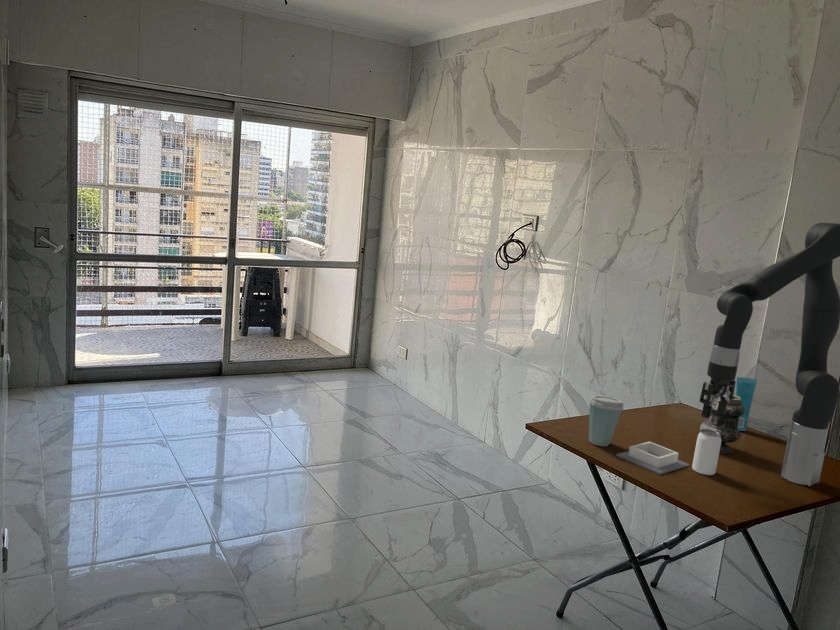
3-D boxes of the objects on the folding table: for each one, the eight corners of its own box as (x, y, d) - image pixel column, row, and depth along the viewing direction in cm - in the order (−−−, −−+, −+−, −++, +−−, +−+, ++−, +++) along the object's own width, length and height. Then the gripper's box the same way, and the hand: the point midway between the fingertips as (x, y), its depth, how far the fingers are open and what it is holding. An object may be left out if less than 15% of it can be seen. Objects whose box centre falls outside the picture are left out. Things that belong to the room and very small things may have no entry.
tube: (742, 427, 247) (752, 376, 244) (751, 432, 242) (761, 380, 239) (724, 426, 246) (733, 375, 242) (732, 431, 241) (742, 379, 238)
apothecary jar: (738, 447, 225) (748, 395, 221) (735, 458, 214) (746, 403, 211) (699, 438, 230) (708, 387, 227) (695, 448, 220) (704, 395, 216)
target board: (688, 465, 204) (690, 454, 203) (659, 474, 194) (662, 463, 194) (645, 448, 215) (647, 437, 214) (616, 456, 206) (618, 444, 205)
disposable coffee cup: (579, 435, 221) (586, 391, 219) (612, 438, 221) (620, 394, 218) (586, 447, 211) (593, 401, 208) (621, 451, 211) (628, 404, 208)
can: (690, 471, 199) (697, 432, 197) (693, 465, 205) (699, 427, 203) (714, 477, 196) (721, 438, 194) (716, 470, 202) (723, 432, 200)
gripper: (723, 367, 187) (712, 423, 190) (748, 363, 196) (738, 416, 199) (698, 360, 193) (688, 414, 196) (724, 356, 202) (714, 408, 205)
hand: (713, 415), depth 197 cm, fingers open, 8 cm apart
